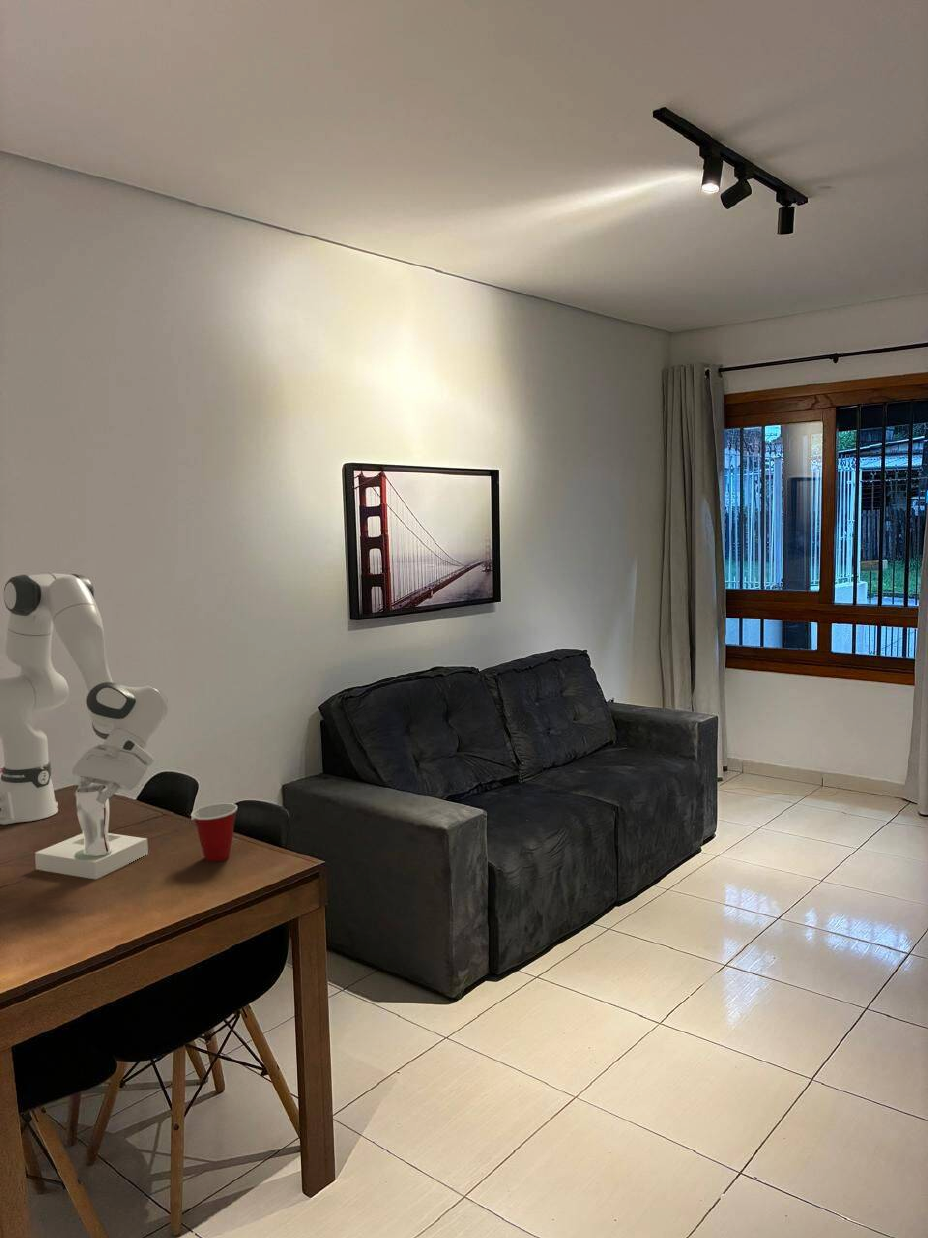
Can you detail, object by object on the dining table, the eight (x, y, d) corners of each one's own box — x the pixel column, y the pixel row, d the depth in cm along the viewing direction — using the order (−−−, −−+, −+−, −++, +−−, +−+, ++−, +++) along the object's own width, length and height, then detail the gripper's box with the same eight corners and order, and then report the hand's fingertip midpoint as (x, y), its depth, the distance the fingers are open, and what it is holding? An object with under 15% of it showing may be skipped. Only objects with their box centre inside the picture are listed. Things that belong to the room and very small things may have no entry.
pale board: (36, 869, 216) (34, 851, 216) (90, 846, 232) (89, 829, 232) (96, 879, 210) (95, 861, 209) (148, 854, 225) (147, 837, 225)
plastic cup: (191, 853, 226) (188, 805, 225) (236, 847, 230) (234, 800, 228) (194, 868, 216) (192, 818, 215) (242, 862, 220) (240, 812, 218)
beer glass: (118, 846, 218) (112, 783, 217) (106, 856, 211) (100, 792, 210) (88, 847, 218) (82, 785, 217) (76, 858, 211) (69, 794, 210)
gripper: (86, 736, 224) (52, 786, 217) (142, 746, 213) (107, 798, 205) (103, 751, 228) (70, 800, 221) (159, 761, 217) (125, 813, 210)
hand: (88, 799), depth 213 cm, fingers open, 6 cm apart
